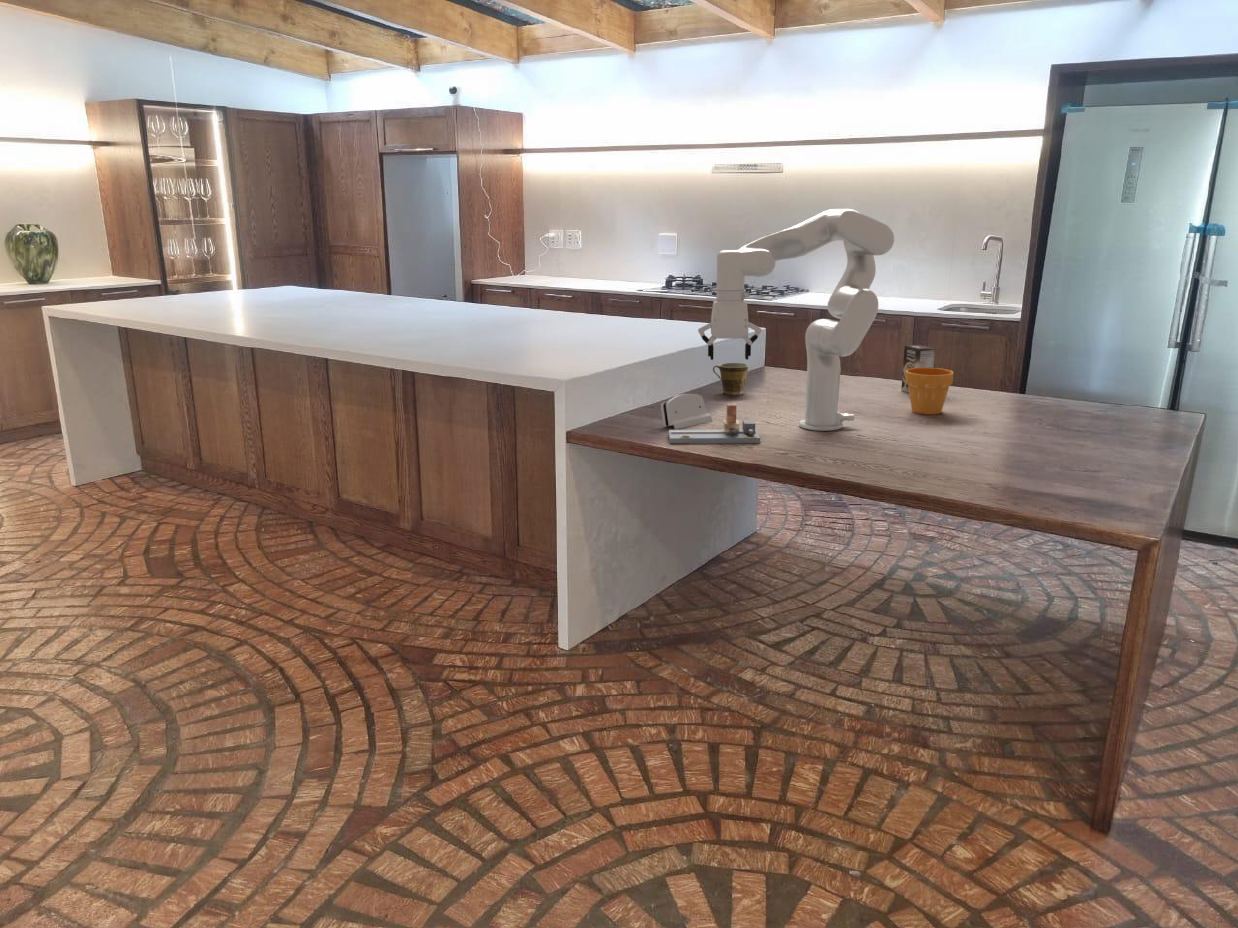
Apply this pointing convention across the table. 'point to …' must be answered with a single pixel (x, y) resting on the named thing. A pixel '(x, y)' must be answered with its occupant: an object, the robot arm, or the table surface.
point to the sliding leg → (731, 420)
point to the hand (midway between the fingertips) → (729, 359)
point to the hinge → (684, 411)
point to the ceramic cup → (732, 377)
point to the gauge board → (716, 435)
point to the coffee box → (916, 360)
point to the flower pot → (928, 388)
